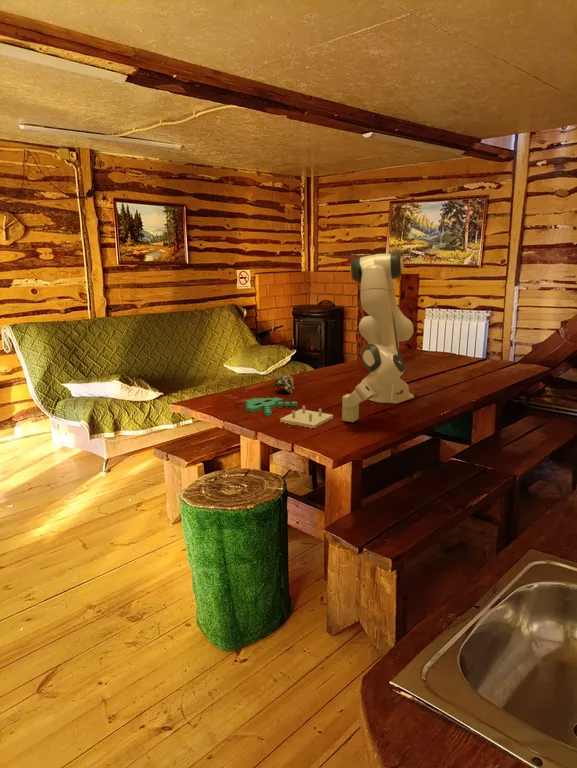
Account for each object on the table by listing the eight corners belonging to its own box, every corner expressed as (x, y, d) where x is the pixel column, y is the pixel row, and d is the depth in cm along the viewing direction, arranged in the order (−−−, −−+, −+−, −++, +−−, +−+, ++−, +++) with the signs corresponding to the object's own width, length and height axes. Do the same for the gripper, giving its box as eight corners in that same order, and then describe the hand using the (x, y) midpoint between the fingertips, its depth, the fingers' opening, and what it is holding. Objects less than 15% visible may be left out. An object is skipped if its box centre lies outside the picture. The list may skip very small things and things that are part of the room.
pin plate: (300, 412, 240) (300, 402, 239) (333, 418, 232) (333, 408, 230) (280, 422, 227) (280, 411, 226) (314, 428, 218) (314, 418, 217)
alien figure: (297, 406, 250) (264, 399, 262) (297, 402, 249) (264, 394, 261) (268, 417, 235) (235, 409, 247) (268, 412, 234) (234, 404, 246)
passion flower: (290, 403, 272) (291, 388, 263) (269, 398, 274) (269, 383, 265) (296, 386, 279) (297, 371, 270) (275, 381, 281) (276, 366, 272)
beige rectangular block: (347, 416, 230) (347, 393, 227) (358, 418, 227) (358, 395, 225) (342, 420, 226) (342, 396, 223) (353, 422, 223) (353, 398, 220)
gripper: (377, 375, 227) (355, 394, 234) (355, 386, 210) (332, 407, 218) (387, 386, 226) (364, 406, 233) (366, 399, 209) (342, 419, 217)
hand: (349, 406), depth 225 cm, fingers closed on beige rectangular block, 5 cm apart
